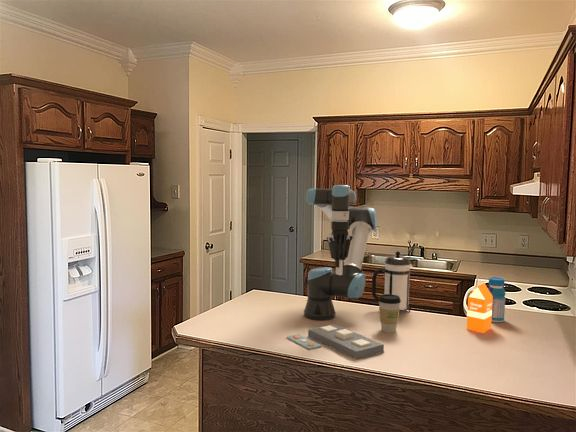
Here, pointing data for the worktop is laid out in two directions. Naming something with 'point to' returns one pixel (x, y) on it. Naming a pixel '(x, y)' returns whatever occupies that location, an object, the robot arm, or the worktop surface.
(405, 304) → the coffee press
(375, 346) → the board
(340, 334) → the button middle
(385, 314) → the coffee cup
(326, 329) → the button left
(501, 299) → the beverage bottle
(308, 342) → the card
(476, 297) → the orange juice
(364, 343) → the button right
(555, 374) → the worktop surface
